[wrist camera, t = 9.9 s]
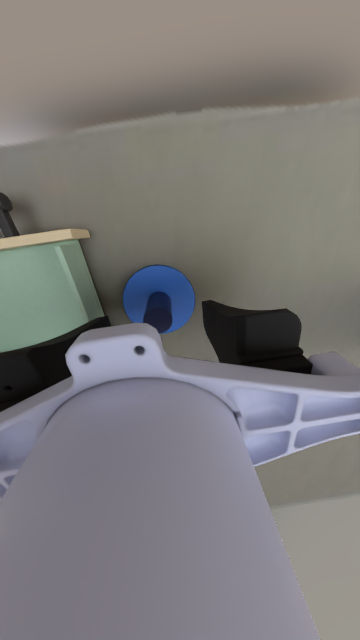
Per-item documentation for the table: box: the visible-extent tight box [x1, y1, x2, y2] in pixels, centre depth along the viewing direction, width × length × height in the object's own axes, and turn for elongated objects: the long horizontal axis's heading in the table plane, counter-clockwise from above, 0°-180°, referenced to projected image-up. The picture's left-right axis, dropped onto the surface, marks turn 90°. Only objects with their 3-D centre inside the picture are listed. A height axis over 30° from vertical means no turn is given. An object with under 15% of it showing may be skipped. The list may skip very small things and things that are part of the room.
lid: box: [123, 265, 195, 334], centre depth 16 cm, size 7×7×5 cm
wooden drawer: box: [0, 192, 104, 353], centre depth 15 cm, size 14×14×3 cm
